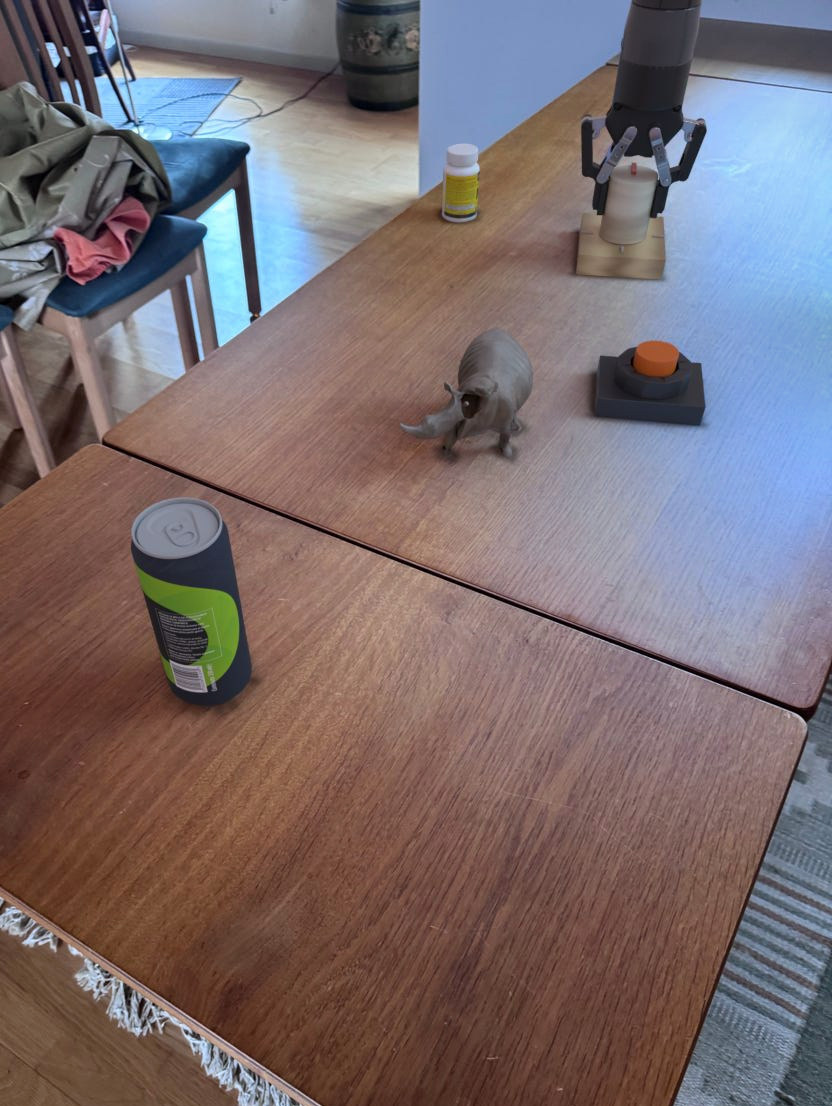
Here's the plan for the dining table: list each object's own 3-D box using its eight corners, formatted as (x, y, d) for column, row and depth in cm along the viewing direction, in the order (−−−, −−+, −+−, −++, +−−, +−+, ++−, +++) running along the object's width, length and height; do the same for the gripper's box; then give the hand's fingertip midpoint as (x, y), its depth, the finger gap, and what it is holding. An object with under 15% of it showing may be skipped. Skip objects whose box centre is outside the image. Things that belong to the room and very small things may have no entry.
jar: (646, 246, 108) (659, 182, 103) (598, 243, 109) (609, 179, 104) (646, 226, 112) (658, 163, 107) (599, 223, 113) (609, 161, 107)
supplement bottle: (482, 220, 121) (487, 152, 114) (448, 225, 120) (451, 158, 114) (468, 206, 124) (472, 139, 118) (436, 211, 123) (438, 145, 117)
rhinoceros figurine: (568, 376, 89) (535, 294, 76) (519, 504, 89) (476, 444, 75) (496, 362, 93) (452, 282, 80) (448, 486, 92) (395, 425, 79)
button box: (696, 382, 93) (706, 346, 90) (699, 426, 87) (710, 390, 85) (596, 374, 94) (602, 338, 91) (594, 417, 89) (601, 381, 86)
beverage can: (268, 685, 67) (244, 531, 56) (195, 726, 65) (154, 573, 54) (226, 636, 71) (196, 482, 60) (155, 673, 68) (109, 519, 57)
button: (674, 358, 89) (678, 341, 88) (675, 379, 87) (680, 363, 85) (632, 354, 90) (636, 338, 89) (632, 376, 87) (636, 360, 86)
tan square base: (659, 236, 116) (663, 215, 114) (661, 280, 108) (666, 258, 106) (579, 232, 117) (582, 211, 115) (575, 275, 109) (579, 253, 107)
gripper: (586, 61, 95) (564, 224, 107) (730, 64, 93) (690, 231, 105) (588, 40, 100) (566, 199, 112) (724, 43, 98) (687, 204, 110)
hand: (626, 213), depth 109 cm, fingers closed on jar, 5 cm apart
